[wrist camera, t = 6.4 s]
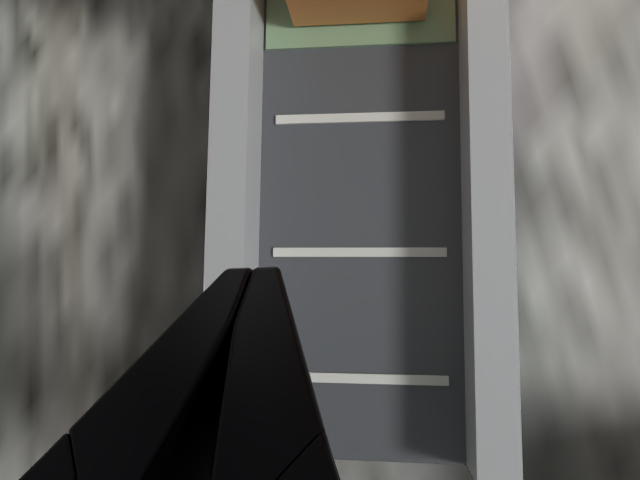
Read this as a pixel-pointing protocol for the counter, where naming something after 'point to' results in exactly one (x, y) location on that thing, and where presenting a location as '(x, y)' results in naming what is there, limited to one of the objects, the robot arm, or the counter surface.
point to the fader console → (379, 218)
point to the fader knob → (355, 11)
